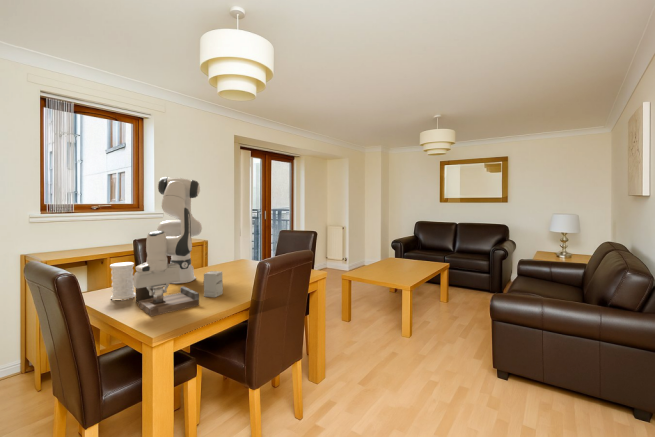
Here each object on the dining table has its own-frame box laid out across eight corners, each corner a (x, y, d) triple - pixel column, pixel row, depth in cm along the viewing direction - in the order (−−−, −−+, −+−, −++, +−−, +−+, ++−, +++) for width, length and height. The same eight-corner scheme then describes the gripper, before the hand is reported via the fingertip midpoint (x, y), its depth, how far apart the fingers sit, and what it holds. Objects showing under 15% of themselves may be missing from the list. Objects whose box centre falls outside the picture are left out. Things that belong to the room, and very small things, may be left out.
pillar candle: (145, 304, 166) (145, 274, 165) (131, 302, 169) (130, 273, 168) (161, 299, 175) (161, 271, 174) (147, 297, 178) (147, 269, 177)
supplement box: (216, 297, 178) (215, 274, 177) (203, 296, 179) (203, 273, 178) (223, 293, 185) (222, 271, 184) (211, 293, 186) (210, 270, 186)
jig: (138, 306, 162) (138, 294, 162) (184, 297, 178) (184, 286, 177) (151, 316, 149) (150, 303, 149) (199, 305, 165) (198, 293, 165)
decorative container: (136, 298, 176) (135, 264, 175) (110, 302, 170) (109, 267, 169) (135, 293, 186) (134, 261, 185) (110, 296, 179) (109, 263, 178)
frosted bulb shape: (149, 301, 160) (149, 284, 159) (162, 298, 164) (162, 282, 163) (153, 304, 155) (153, 287, 155) (167, 301, 160) (166, 284, 159)
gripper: (177, 261, 168) (177, 288, 169) (131, 267, 154) (132, 296, 155) (182, 263, 164) (182, 290, 165) (135, 269, 149) (136, 299, 150)
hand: (158, 293), depth 160 cm, fingers closed on frosted bulb shape, 4 cm apart
